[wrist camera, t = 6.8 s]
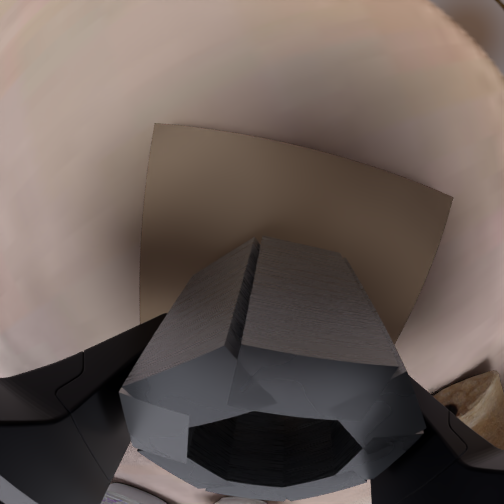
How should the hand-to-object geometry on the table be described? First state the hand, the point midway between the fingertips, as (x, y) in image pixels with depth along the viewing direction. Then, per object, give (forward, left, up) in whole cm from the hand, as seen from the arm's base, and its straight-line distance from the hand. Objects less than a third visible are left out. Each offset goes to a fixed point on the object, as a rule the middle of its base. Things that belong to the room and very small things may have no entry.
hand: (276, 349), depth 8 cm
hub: (0, 0, -1) cm, 1 cm away
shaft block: (0, 0, -4) cm, 4 cm away
